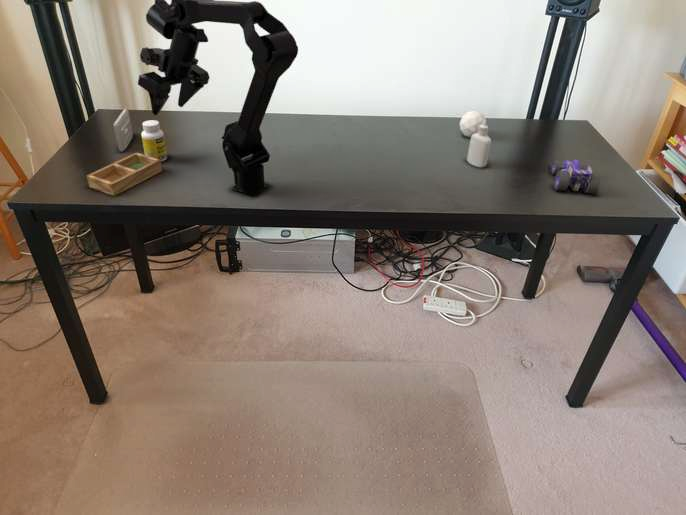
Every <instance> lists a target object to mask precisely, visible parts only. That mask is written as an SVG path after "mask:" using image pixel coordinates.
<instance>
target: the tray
mask: <svg viewBox="0 0 686 515" xmlns="http://www.w3.org/2000/svg"><path fill="white" fill-rule="evenodd" d="M162 172H163V167H162V162H161V160H159V159H156V158H153V157H149V156H146V155H145V154H143V153H140V152H133V153H132V154H130V155H128V156H125V157H124V158H122V159H121V158H120V159H119V160H117V161H115V162H113V163H111V164H109V165H106V166H104V167H102V168H100V169H98V170H95V171H93V172H92V173H88V174H87V175H86V180H87V184H88V187H89V188H91V189H94V190H96V191H99V192H102V193H104V194H107V195H110V196H113V197H115V196H117V195H119V194H121V193H124V192H125V191H126V190H129V189H130V188H132V187H134V186H136V185H138V184H141V183H142V182H143V181H145V180H147V179H149V178H151V177H154V176H155V175H158V174H159V173H162Z"/></svg>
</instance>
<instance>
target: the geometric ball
mask: <svg viewBox="0 0 686 515" xmlns="http://www.w3.org/2000/svg"><path fill="white" fill-rule="evenodd" d="M483 121H486V122H487V118H486V117H485V115H484V114H483V113H482V112H480V111H477V110H471V111H467V112H466V113H465V114H464V115H463V116H461V119H460V121H459V129H460V132H461V133H462V135H463V136H464V137H467V138H470V139H471V137H472V135H473V134H475V133H478V129H479V126H480V125H482V124H483ZM486 125H487V126H488V124H487V123H486Z"/></svg>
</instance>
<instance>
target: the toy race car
mask: <svg viewBox="0 0 686 515" xmlns="http://www.w3.org/2000/svg"><path fill="white" fill-rule="evenodd" d="M586 167H587V166H586V163H585V162H580V161H579V160H578V159H574V160H573V162H572V161H570V160H566V161H564V162H563V164H562V161H561V160H556V159H555V160H553V162H552V164H551V167H550V169H551V170H550V171H551V174H552V175H554V176H555V177H554V179H553V180H554V181H553V184H554V185H553V186H554V187H553V188H554V190H555V191H561V192H565V191H567V189H568V188H569V187H570V188H571V190H572V191H573V192H579V190H580V188H582V190H583V193H585V194H593V195H595V194H596V193H597V192H598V191H599V188H600V183H601V179H600V175H599V174H598V173H594V170H593V168H592V166H591V165H588V167H587V169H586ZM583 178H584V179H583ZM582 179H583V181H582Z"/></svg>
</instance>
